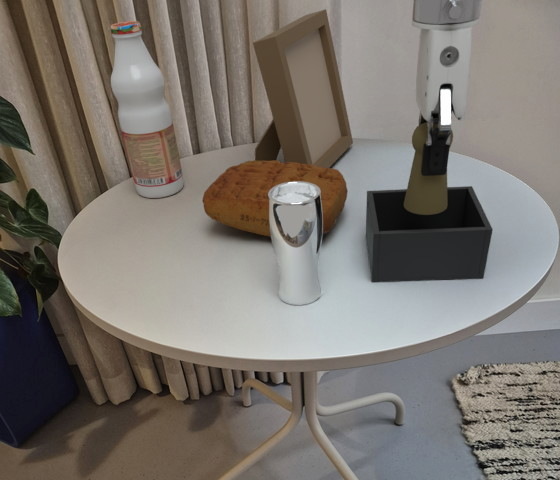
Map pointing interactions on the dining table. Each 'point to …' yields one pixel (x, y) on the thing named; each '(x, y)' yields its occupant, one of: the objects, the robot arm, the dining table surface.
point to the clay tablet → (256, 185)
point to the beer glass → (297, 239)
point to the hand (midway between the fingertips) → (430, 164)
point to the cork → (425, 180)
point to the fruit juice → (144, 115)
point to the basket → (426, 238)
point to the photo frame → (303, 94)
